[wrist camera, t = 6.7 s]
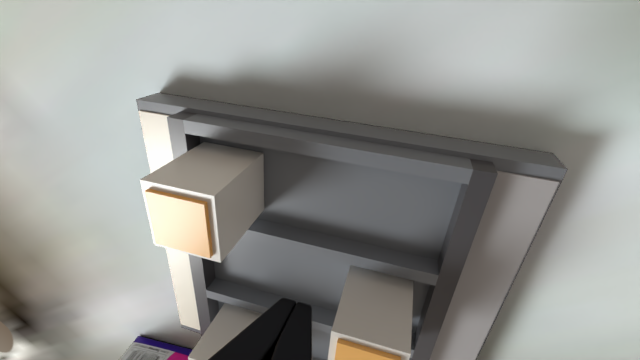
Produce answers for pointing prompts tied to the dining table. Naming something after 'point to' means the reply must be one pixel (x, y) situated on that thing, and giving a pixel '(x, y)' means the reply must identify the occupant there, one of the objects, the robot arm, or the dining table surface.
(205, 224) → the switch tab
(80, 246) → the dining table surface
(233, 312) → the switch tab
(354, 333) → the switch tab
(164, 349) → the supplement box
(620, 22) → the dining table surface
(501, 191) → the switch bank
